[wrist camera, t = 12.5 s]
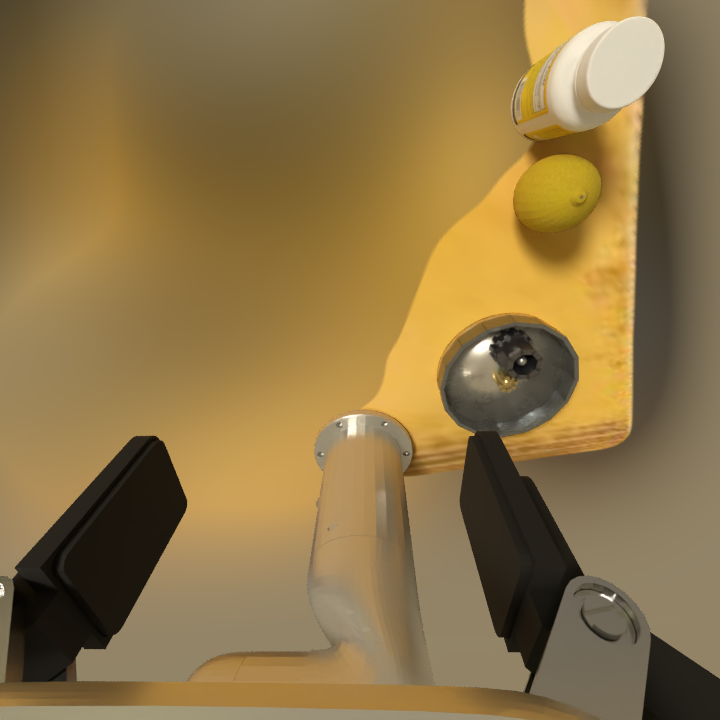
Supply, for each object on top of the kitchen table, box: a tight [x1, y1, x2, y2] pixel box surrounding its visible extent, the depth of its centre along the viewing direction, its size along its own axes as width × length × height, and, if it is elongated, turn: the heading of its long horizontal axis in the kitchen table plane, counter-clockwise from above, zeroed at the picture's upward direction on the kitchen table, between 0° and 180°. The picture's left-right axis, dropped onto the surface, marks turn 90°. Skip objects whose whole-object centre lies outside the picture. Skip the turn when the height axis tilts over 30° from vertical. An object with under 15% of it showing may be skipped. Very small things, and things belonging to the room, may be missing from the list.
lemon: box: [513, 154, 602, 233], centre depth 27 cm, size 6×6×8 cm
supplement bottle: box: [511, 17, 664, 141], centre depth 23 cm, size 5×5×10 cm
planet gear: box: [489, 328, 544, 380], centre depth 34 cm, size 4×4×4 cm
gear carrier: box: [437, 313, 579, 437], centre depth 37 cm, size 14×14×5 cm
